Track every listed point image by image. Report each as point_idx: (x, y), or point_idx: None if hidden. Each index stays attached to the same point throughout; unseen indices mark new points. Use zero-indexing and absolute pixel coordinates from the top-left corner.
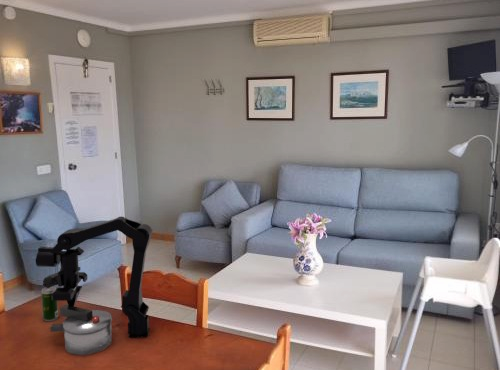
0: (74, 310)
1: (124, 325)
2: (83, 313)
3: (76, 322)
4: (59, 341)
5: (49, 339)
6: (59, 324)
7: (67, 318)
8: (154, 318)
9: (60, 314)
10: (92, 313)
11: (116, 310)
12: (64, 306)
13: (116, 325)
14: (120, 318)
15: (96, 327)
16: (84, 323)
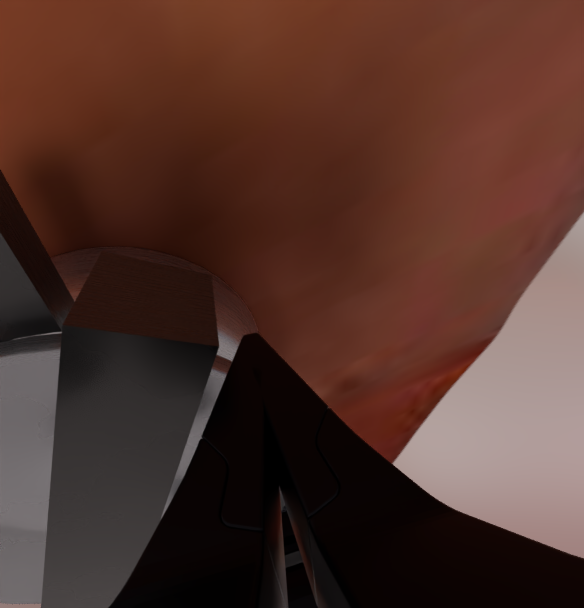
0: (57, 532)
1: (340, 407)
2: (44, 598)
3: (14, 481)
4: (96, 177)
5: (97, 60)
6: (3, 272)
7: (58, 372)
8: (391, 460)
9: (98, 260)
10: None
11: (502, 312)
12: (135, 371)
13: (341, 382)
14: (410, 365)
15: (14, 597)
16: (31, 528)
